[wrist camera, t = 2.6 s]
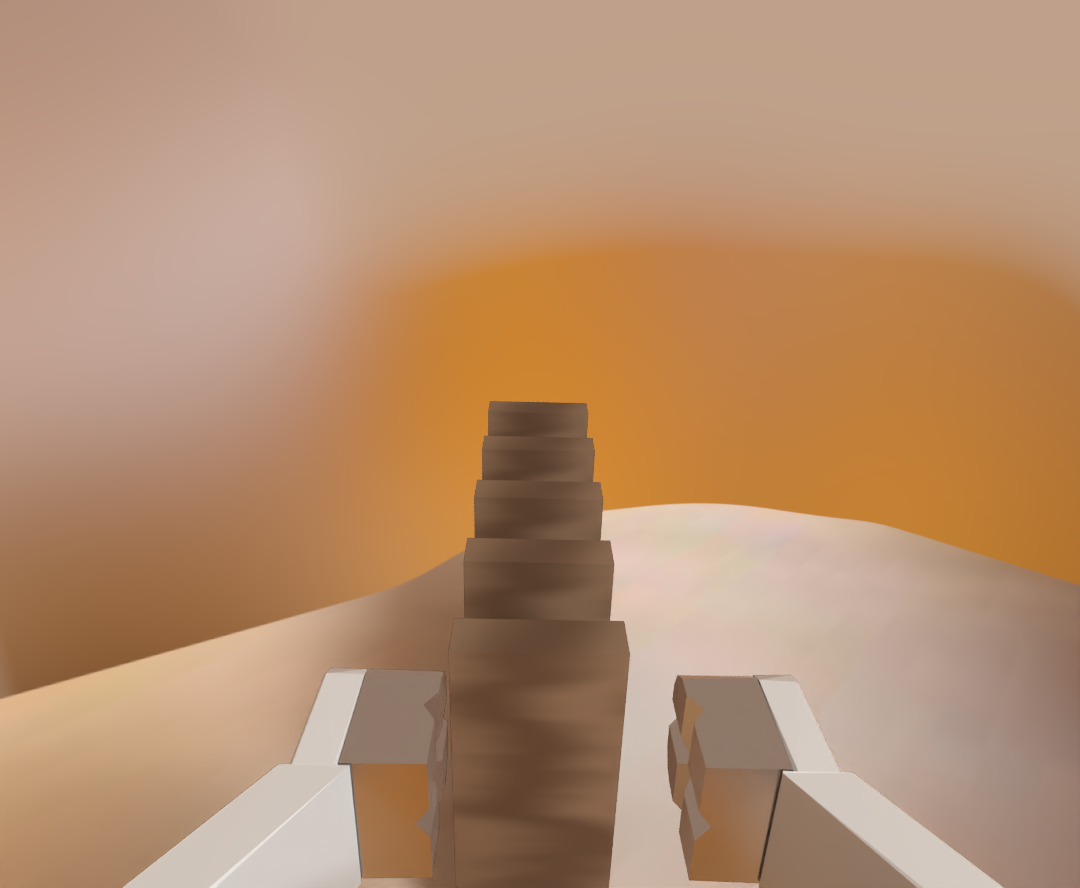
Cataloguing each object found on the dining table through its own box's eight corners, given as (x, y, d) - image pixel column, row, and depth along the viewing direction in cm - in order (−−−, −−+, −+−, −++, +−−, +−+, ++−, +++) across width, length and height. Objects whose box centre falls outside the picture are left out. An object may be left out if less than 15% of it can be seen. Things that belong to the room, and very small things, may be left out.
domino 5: (599, 905, 32) (623, 621, 26) (603, 947, 31) (629, 654, 25) (461, 903, 32) (454, 618, 26) (457, 945, 31) (448, 651, 25)
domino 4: (591, 799, 38) (610, 540, 32) (593, 830, 36) (614, 564, 30) (471, 797, 37) (467, 537, 31) (468, 829, 36) (463, 561, 30)
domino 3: (584, 718, 43) (600, 482, 37) (586, 743, 41) (603, 499, 35) (479, 717, 42) (477, 479, 36) (477, 741, 41) (474, 496, 35)
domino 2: (579, 654, 48) (592, 438, 42) (581, 674, 46) (594, 451, 40) (485, 653, 48) (484, 435, 42) (483, 672, 46) (482, 449, 40)
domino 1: (575, 603, 53) (586, 403, 47) (577, 619, 51) (588, 413, 45) (490, 602, 53) (489, 401, 47) (488, 617, 51) (488, 411, 45)
